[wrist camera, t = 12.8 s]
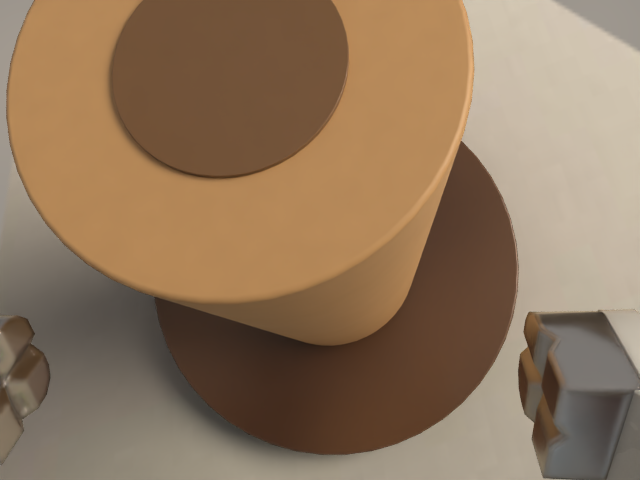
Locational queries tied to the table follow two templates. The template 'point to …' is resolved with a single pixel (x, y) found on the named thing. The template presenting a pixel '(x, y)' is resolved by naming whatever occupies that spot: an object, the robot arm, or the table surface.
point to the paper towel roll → (245, 148)
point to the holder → (370, 341)
